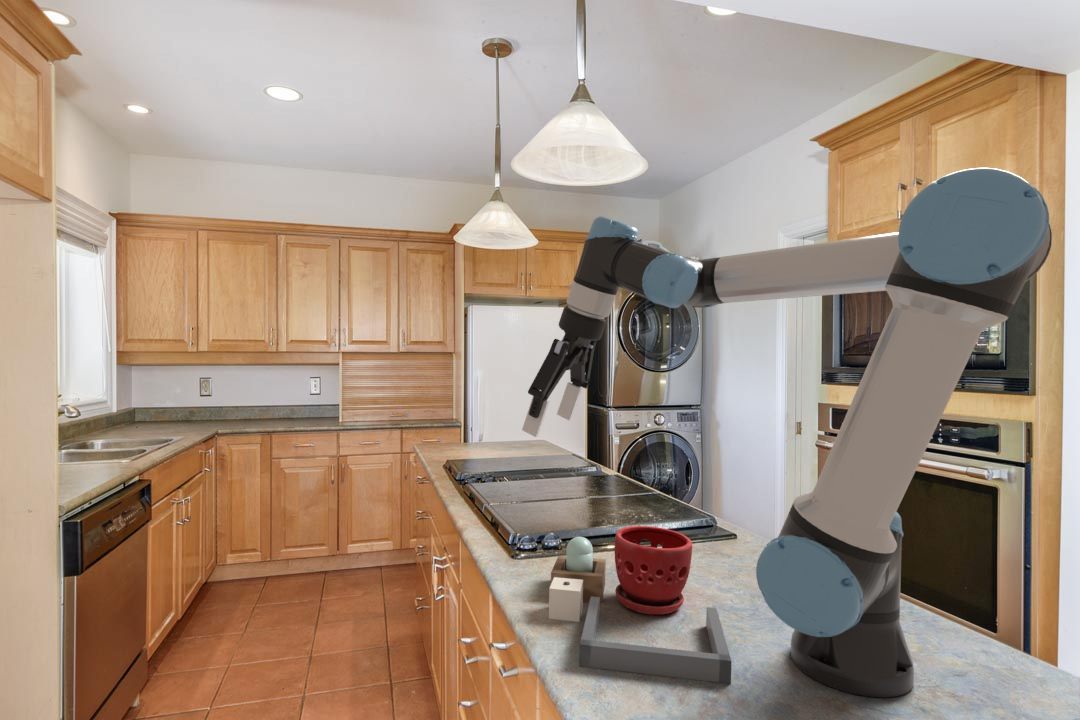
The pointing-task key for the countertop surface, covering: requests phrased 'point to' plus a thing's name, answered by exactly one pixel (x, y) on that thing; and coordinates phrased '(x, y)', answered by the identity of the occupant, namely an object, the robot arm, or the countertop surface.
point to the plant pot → (652, 568)
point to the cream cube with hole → (566, 599)
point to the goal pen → (657, 653)
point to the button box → (584, 577)
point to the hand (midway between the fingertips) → (547, 424)
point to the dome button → (579, 555)
